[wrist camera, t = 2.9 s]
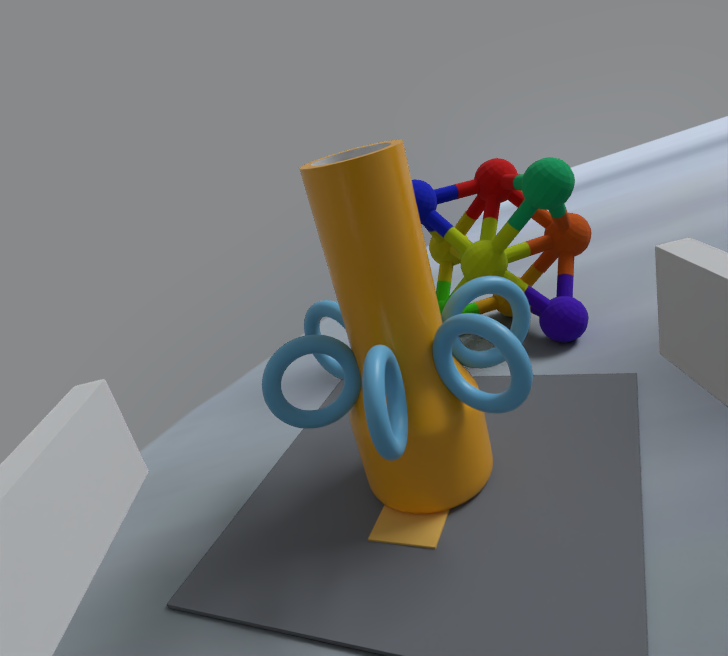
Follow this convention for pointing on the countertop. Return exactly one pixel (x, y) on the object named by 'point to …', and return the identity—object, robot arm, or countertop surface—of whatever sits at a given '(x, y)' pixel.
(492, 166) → the molecular model
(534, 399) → the mat
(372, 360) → the cylinder
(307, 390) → the countertop surface
